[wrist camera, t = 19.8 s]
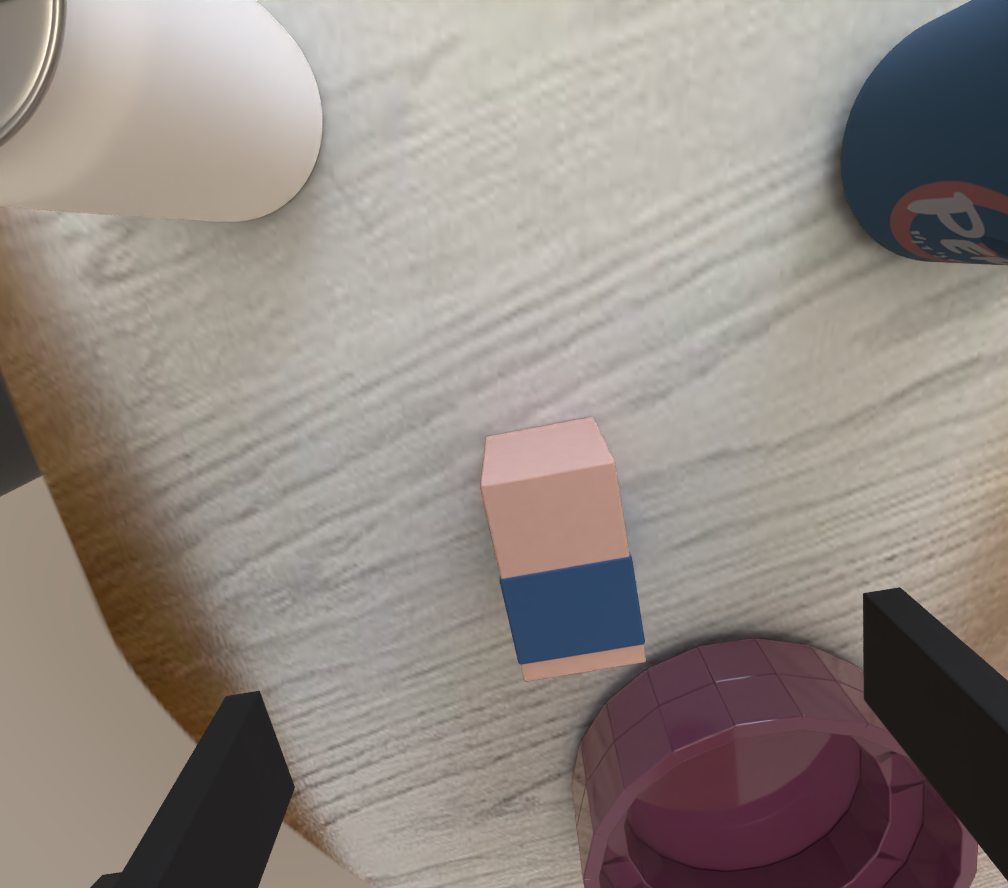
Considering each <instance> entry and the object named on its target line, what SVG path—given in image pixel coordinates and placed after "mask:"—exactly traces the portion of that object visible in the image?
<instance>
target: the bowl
mask: <svg viewBox="0 0 1008 888" xmlns="http://www.w3.org/2000/svg"><path fill="white" fill-rule="evenodd" d="M572 792H573V801H574V809H575V818H576V826H577V834H578V843H579V851H580V860H581V868H582V877H583V883H584V888H970V886H971V884H972V882H973V880H974V878H975V874H976V871H977V854H978V843H977V842H976V840H975V839H974V838H973V837H972V835H971V834H970V833H969V832H968V830H967V829H966V828H965V827H964V825H963V824H962V823H961V821H960V820H959V819H958V818H957V816H956V815H955V814H954V813H953V811H952V810H951V809H950V808H949V806H948V805H947V804H946V803H945V801H944V800H943V799H942V798H941V796H940V795H939V794H938V793H937V791H936V790H935V789H934V788H933V786H932V785H931V784H930V782H929V781H928V780H927V779H926V777H925V776H924V775H923V774H922V772H921V771H920V770H919V769H918V767H917V766H916V765H915V764H914V762H913V761H912V760H911V759H910V757H909V756H908V755H907V754H906V752H905V751H904V750H903V748H902V747H901V746H900V745H899V743H898V742H897V741H896V740H895V738H894V737H893V736H892V735H891V733H890V732H889V731H888V730H887V728H886V727H885V726H884V725H883V723H882V722H881V721H880V720H879V718H878V717H877V716H876V715H875V713H874V712H873V711H872V709H871V708H870V707H869V706H868V704H867V703H866V702H865V701H864V673H863V672H862V671H861V670H860V669H859V668H858V667H857V666H855V665H853V664H851V663H849V662H847V661H844V660H842V659H840V658H838V657H835V656H833V655H831V654H829V653H826V652H824V651H822V650H820V649H817V648H815V647H813V646H811V645H806V644H798V643H790V642H781V641H773V640H765V639H757V638H756V639H753V638H750V639H744V640H737V641H730V642H724V643H717V644H710V645H704V646H698V648H693V649H691V650H689V651H686V652H684V653H682V654H680V655H677V656H675V657H673V658H670V659H668V660H666V661H664V662H661V663H659V664H657V665H654V666H652V667H650V668H648V669H647V670H644V671H643V672H642V673H641V674H640V675H638V676H637V677H636V678H635V679H633V680H632V681H631V682H630V683H629V684H627V685H626V686H625V687H624V688H623V689H621V690H620V691H619V692H618V693H616V694H615V695H614V696H613V697H612V698H610V699H609V700H608V701H607V703H605V704H604V706H603V708H602V709H601V711H600V712H599V714H598V715H597V717H596V718H595V720H594V722H593V723H592V725H591V726H590V728H589V729H588V731H587V732H586V734H585V736H584V737H583V739H582V741H581V742H580V745H579V750H578V755H577V759H576V764H575V769H574V773H573V778H572Z"/></svg>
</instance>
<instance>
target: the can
mask: <svg viewBox="0 0 1008 888" xmlns="http://www.w3.org/2000/svg"><path fill="white" fill-rule="evenodd" d="M322 122H323V121H322V107H321V100H320V95H319V91H318V87H317V84H316V81H315V78H314V75H313V73H312V70H311V68H310V66H309V64H308V62H307V60H306V58H305V56H304V54H303V53H302V51H301V50H300V48H299V47H298V45H297V44H296V42H295V41H294V40H293V38H292V37H291V36H290V35H289V33H288V32H287V31H286V30H285V29H284V28H283V27H282V26H281V25H280V23H279V22H278V21H277V20H276V19H275V18H274V17H273V16H272V15H271V14H270V13H269V12H268V11H267V10H266V9H265V8H264V7H263V6H262V5H260V4H259V3H258V2H257V1H256V0H0V206H3V207H13V208H24V209H36V210H49V211H62V212H76V213H90V214H104V215H119V216H134V217H149V218H165V219H181V220H198V221H218V222H238V221H246V220H252V219H256V218H259V217H262V216H265V215H268V214H270V213H272V212H274V211H276V210H277V209H279V208H281V207H282V206H283V205H285V204H286V203H287V202H289V201H290V200H291V199H292V198H293V197H294V196H295V195H296V194H297V193H298V192H299V190H300V189H301V188H302V187H303V185H304V184H305V182H306V181H307V179H308V177H309V176H310V174H311V172H312V170H313V168H314V165H315V163H316V160H317V157H318V153H319V149H320V144H321V138H322Z"/></svg>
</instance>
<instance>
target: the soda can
mask: <svg viewBox="0 0 1008 888" xmlns="http://www.w3.org/2000/svg"><path fill="white" fill-rule="evenodd" d="M841 174H842V182H843V187H844V191H845V195H846V198H847V201H848V203H849V206H850V208H851V210H852V212H853V214H854V216H855V217H856V219H857V221H858V222H859V224H860V225H861V226H862V227H863V229H864V230H865V231H866V232H867V233H868V234H869V235H870V236H871V237H872V238H873V239H874V240H875V241H876V242H878V243H879V244H880V245H882V246H883V247H885V248H886V249H888V250H890V251H892V252H894V253H896V254H898V255H901V256H904V257H907V258H910V259H914V260H920V261H928V262H948V263H970V264H992V265H1008V0H971V1H969V2H967V3H965V4H964V5H962V6H960V7H958V8H956V9H954V10H952V11H950V12H948V13H946V14H944V15H942V16H940V17H938V18H936V19H934V20H932V21H931V22H929V23H927V24H925V25H923V26H922V27H920V28H918V29H917V30H915V31H914V32H912V33H911V34H910V35H908V36H907V37H906V38H904V39H903V40H902V41H901V42H900V43H898V44H897V45H896V46H895V47H894V48H893V49H892V50H891V51H890V52H889V53H888V54H887V55H886V56H885V57H884V58H883V59H882V61H881V62H880V63H879V64H878V65H877V67H876V68H875V69H874V70H873V72H872V73H871V75H870V76H869V78H868V79H867V80H866V82H865V84H864V85H863V87H862V89H861V91H860V93H859V94H858V96H857V98H856V100H855V103H854V105H853V107H852V110H851V112H850V115H849V118H848V121H847V124H846V128H845V132H844V137H843V142H842V150H841Z"/></svg>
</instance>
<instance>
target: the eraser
mask: <svg viewBox="0 0 1008 888" xmlns="http://www.w3.org/2000/svg"><path fill="white" fill-rule="evenodd" d="M480 489H481V493H482V498H483V502H484V506H485V511H486V515H487V519H488V524H489V528H490V533H491V537H492V541H493V546H494V550H495V555H496V559H497V563H498V568H499V572H500V584H501V589H502V593H503V598H504V602H505V606H506V611H507V615H508V619H509V624H510V628H511V633H512V637H513V641H514V646H515V650H516V654H517V659H518V663H519V664H520V665H521V669H522V673H523V678H524V680H525V681H526V682H527V681H533V680H539V679H545V678H551V677H558V676H564V675H570V674H576V673H582V672H588V671H594V670H600V669H606V668H613V667H619V666H625V665H631V664H637V663H643V662H645V661H646V657H645V650H644V642H645V639H644V633H643V626H642V620H641V614H640V607H639V601H638V594H637V588H636V581H635V575H634V569H633V562H632V557H631V554H630V552H629V548H628V542H627V535H626V529H625V523H624V516H623V510H622V503H621V497H620V491H619V484H618V478H617V472H616V465H615V461H614V459H613V457H612V455H611V453H610V451H609V449H608V447H607V445H606V443H605V441H604V439H603V437H602V435H601V432H600V430H599V428H598V426H597V424H596V422H595V420H594V418H593V417H588V418H582V419H577V420H572V421H567V422H561V423H556V424H551V425H546V426H540V427H535V428H530V429H525V430H519V431H514V432H509V433H504V434H498V435H493V436H488V437H486V442H485V451H484V460H483V468H482V477H481V486H480Z"/></svg>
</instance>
